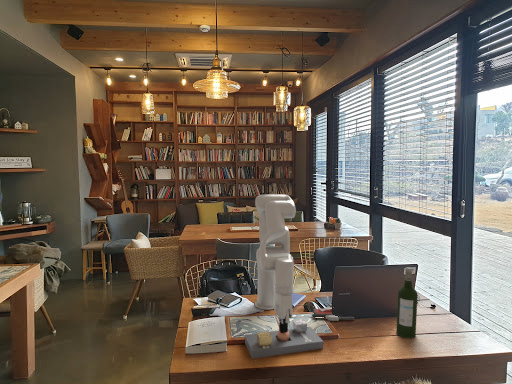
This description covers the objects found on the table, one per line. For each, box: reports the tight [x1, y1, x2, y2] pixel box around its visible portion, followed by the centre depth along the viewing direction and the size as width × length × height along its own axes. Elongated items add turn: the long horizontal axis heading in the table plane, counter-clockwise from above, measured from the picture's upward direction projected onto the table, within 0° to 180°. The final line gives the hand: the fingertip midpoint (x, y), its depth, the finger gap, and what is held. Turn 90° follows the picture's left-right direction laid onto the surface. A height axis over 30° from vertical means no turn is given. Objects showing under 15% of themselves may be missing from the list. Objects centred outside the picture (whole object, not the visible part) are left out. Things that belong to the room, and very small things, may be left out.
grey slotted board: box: [243, 326, 324, 360], centre depth 143 cm, size 13×30×3 cm, turn 105°
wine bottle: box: [396, 266, 419, 339], centre depth 152 cm, size 8×8×30 cm
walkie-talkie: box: [312, 306, 355, 322], centre depth 169 cm, size 9×4×20 cm
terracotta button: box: [277, 330, 289, 342], centre depth 143 cm, size 5×5×3 cm
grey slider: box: [292, 318, 308, 333], centre depth 149 cm, size 4×5×4 cm
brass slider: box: [256, 330, 272, 346], centre depth 138 cm, size 4×5×4 cm
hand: (283, 331), depth 142 cm, fingers closed
